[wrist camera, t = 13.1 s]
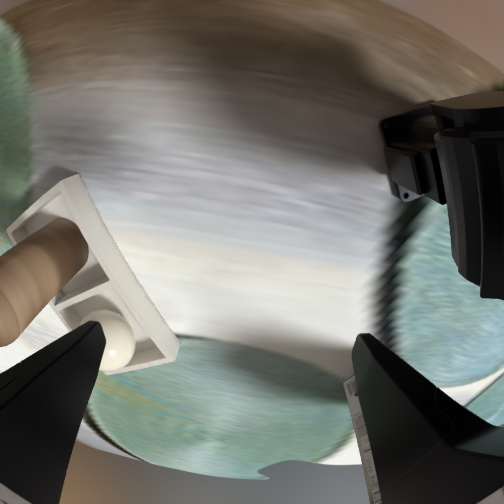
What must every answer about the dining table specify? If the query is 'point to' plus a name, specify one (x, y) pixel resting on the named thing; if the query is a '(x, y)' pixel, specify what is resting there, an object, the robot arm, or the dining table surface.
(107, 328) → the cream white ball
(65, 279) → the brown domed cylinder
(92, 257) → the white divided tray
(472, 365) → the dining table surface
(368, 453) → the coffee box
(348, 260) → the dining table surface
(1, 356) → the dining table surface
